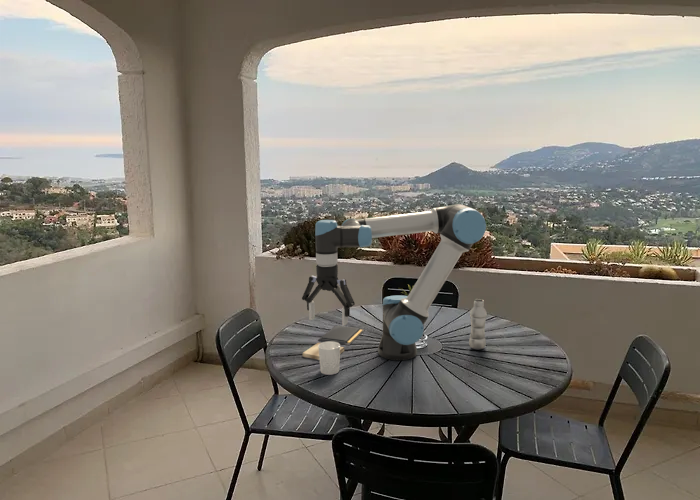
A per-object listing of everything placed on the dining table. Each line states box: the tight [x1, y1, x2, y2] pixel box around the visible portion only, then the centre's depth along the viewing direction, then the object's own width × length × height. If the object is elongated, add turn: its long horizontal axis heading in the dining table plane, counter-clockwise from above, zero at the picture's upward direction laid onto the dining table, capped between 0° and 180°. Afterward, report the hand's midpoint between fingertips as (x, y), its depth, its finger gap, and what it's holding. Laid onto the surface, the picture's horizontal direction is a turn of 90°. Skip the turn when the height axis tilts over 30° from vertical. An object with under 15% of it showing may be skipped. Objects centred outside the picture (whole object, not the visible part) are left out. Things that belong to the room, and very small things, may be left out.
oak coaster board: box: [302, 342, 345, 361], centre depth 210 cm, size 12×12×2 cm
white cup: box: [318, 341, 341, 376], centre depth 194 cm, size 8×8×10 cm
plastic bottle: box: [468, 298, 488, 351], centre depth 212 cm, size 6×7×20 cm
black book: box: [317, 324, 366, 346], centre depth 230 cm, size 20×2×15 cm
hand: (328, 322), depth 191 cm, fingers open, 13 cm apart
